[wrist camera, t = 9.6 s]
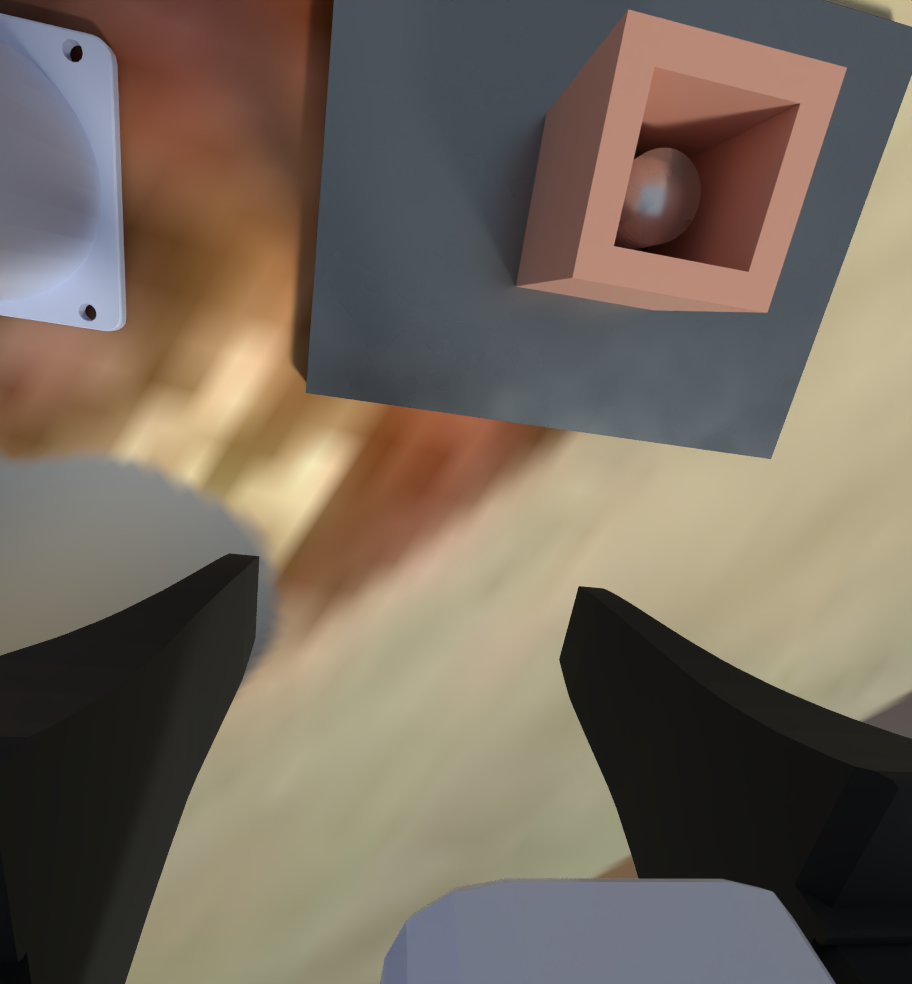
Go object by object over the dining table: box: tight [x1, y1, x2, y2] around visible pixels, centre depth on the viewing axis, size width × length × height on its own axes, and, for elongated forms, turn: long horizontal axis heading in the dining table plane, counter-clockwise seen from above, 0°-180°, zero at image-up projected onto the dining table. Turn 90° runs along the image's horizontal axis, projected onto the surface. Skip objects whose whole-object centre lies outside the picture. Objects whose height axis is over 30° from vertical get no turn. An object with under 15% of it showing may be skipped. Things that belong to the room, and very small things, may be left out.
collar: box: [516, 9, 847, 313], centre depth 14 cm, size 5×5×6 cm
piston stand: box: [306, 0, 912, 459], centre depth 16 cm, size 18×14×5 cm
